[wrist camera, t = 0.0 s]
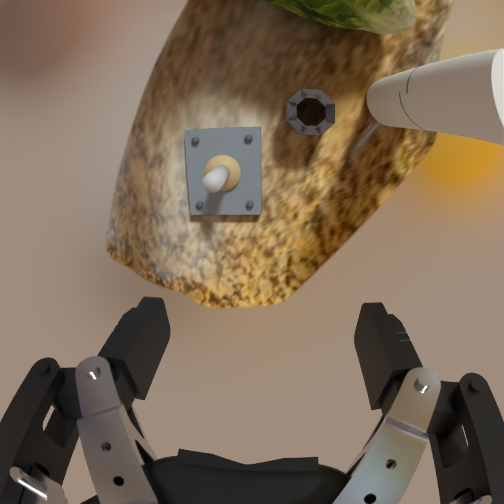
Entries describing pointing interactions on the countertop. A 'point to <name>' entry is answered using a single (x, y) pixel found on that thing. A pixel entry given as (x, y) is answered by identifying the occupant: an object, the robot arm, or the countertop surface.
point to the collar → (320, 102)
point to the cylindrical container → (445, 97)
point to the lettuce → (355, 13)
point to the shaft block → (224, 171)
